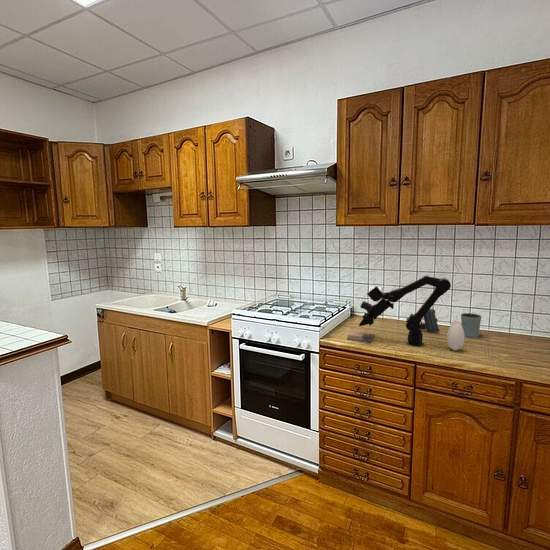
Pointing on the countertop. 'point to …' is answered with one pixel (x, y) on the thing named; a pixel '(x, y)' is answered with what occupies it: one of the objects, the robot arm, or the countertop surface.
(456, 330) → the sauce bottle
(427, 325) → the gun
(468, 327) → the grey plant pot
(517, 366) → the countertop surface
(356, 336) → the tile
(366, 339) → the mat
